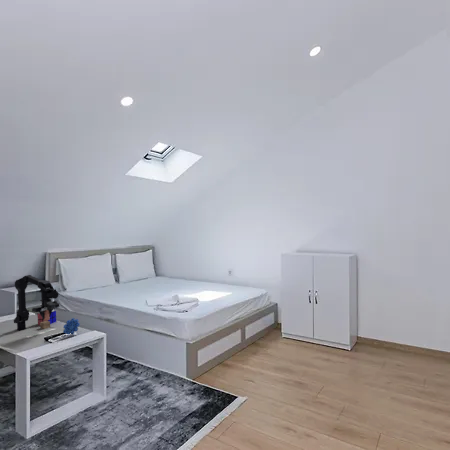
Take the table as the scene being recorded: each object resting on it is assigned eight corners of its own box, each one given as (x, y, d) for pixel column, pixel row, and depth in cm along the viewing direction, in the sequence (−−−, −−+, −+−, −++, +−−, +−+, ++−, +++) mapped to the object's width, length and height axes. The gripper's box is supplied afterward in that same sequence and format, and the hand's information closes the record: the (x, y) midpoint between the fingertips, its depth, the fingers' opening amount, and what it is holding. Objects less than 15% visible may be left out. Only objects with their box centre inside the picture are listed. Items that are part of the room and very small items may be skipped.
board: (24, 338, 253) (24, 336, 253) (53, 329, 272) (52, 328, 272) (29, 339, 250) (29, 337, 250) (57, 330, 269) (57, 328, 269)
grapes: (77, 331, 263) (77, 315, 263) (81, 333, 258) (80, 317, 258) (61, 335, 255) (60, 319, 255) (64, 337, 250) (63, 320, 250)
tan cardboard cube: (40, 329, 273) (40, 322, 273) (46, 327, 277) (46, 320, 277) (44, 329, 271) (44, 323, 271) (50, 327, 275) (50, 321, 275)
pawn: (42, 320, 264) (42, 310, 264) (47, 318, 267) (47, 309, 267) (45, 320, 262) (45, 310, 262) (50, 319, 265) (50, 309, 265)
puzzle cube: (48, 325, 283) (47, 313, 283) (37, 325, 285) (37, 313, 285) (56, 322, 293) (56, 310, 293) (46, 321, 295) (45, 310, 295)
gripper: (40, 301, 252) (41, 323, 253) (63, 296, 269) (64, 316, 269) (31, 300, 258) (32, 321, 258) (54, 295, 274) (55, 315, 274)
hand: (46, 318), depth 265 cm, fingers closed on pawn, 4 cm apart
